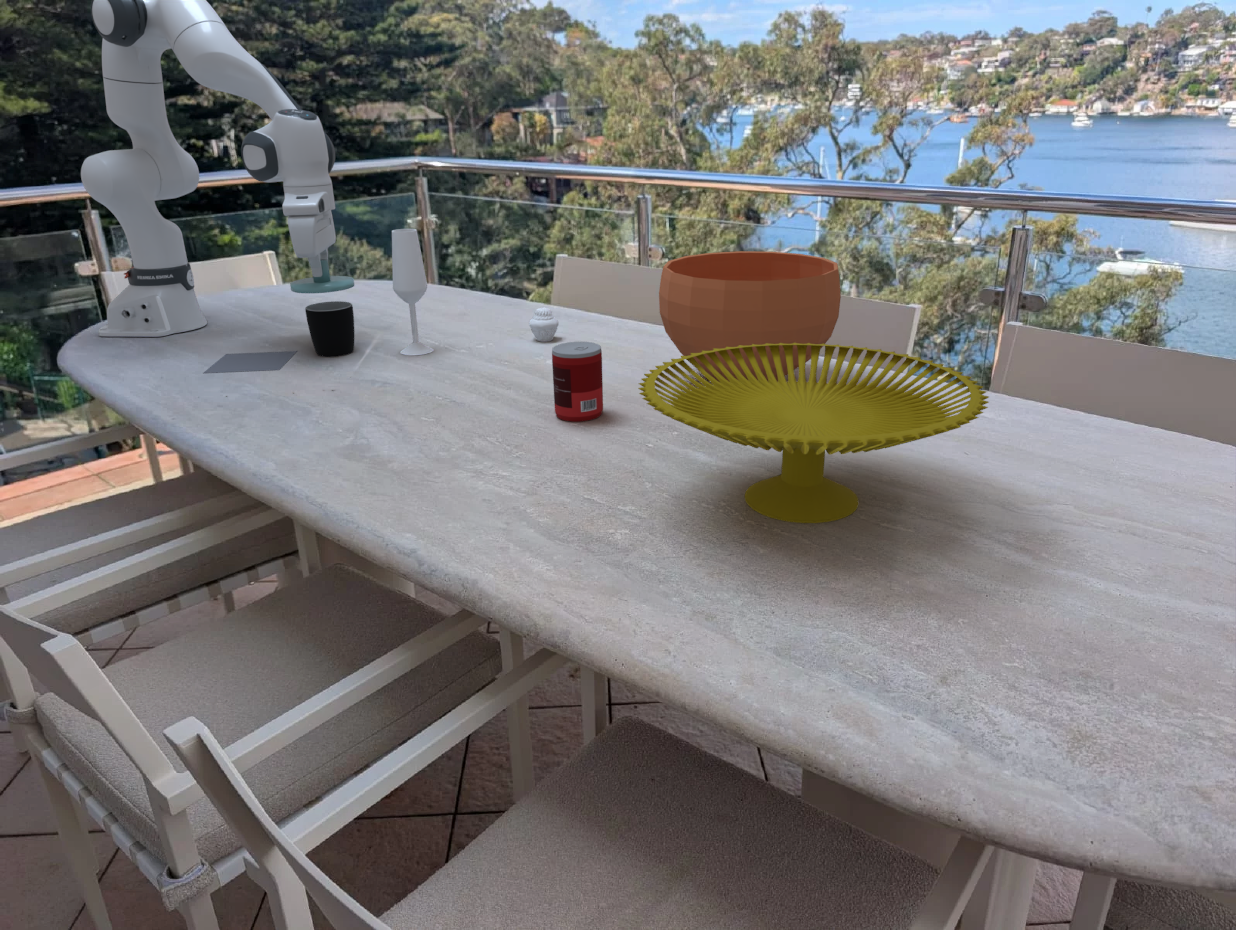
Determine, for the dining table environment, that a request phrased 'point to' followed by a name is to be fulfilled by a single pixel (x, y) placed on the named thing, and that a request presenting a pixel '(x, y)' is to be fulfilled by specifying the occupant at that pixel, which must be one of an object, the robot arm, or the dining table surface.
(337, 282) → the lid
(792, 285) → the bowl
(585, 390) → the canned food
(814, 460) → the cake stand
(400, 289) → the champagne flute
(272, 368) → the mat
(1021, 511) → the dining table surface
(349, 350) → the mug
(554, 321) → the white ridged rounded piece
